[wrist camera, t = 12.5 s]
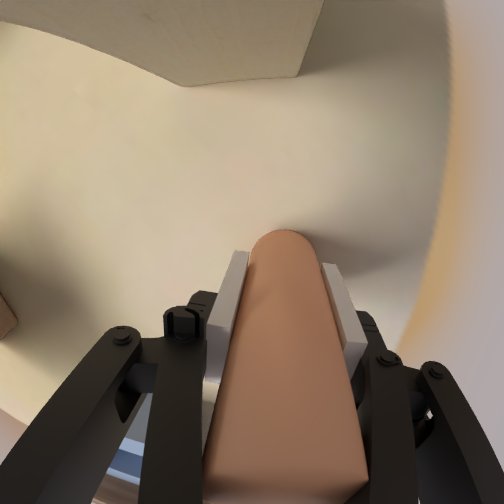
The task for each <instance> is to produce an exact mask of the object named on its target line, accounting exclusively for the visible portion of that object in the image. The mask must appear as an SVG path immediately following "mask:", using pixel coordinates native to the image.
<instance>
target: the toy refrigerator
mask: <svg viewBox="0 0 504 504" xmlns="http://www.w3.org/2000/svg"><path fill="white" fill-rule="evenodd" d="M323 3H324V0H0V21H3V22H7V23H12V24H17V25H21V26H25V27H29V28H33V29H37V30H40V31H43V32H47V33H50V34H53V35H56V36H59V37H62V38H65V39H68V40H71V41H74V42H77V43H80V44H83V45H85V46H88V47H90V48H93V49H96V50H98V51H101V52H104V53H106V54H109V55H111V56H114V57H116V58H119V59H121V60H124V61H126V62H129V63H131V64H133V65H135V66H137V67H139V68H142V69H144V70H146V71H148V72H151V73H153V74H155V75H157V76H159V77H162V78H164V79H166V80H168V81H170V82H172V83H174V84H176V85H178V86H181V87H190V86H196V85H203V84H210V83H219V82H227V81H238V80H249V79H263V78H287V77H296V76H297V74H298V72H299V69H300V67H301V64H302V61H303V58H304V56H305V53H306V50H307V48H308V45H309V42H310V39H311V36H312V34H313V31H314V28H315V25H316V23H317V20H318V17H319V14H320V11H321V9H322V6H323Z"/></svg>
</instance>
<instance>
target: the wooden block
mask: <svg viewBox="0 0 504 504" xmlns="http://www.w3.org/2000/svg"><path fill="white" fill-rule="evenodd" d="M16 324H17V319H16V317H15V316H14V314H13V313H12V311H11V310H10V308H9V307H8V305H7V304H6V302H5V300H4V299H3V297H2V296H1V294H0V339H1V338H3V337H4V336H5V335H6V334H7V333H8V332H9V331H10V330H11V329H12V328H13V327H14V326H15V325H16Z"/></svg>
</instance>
